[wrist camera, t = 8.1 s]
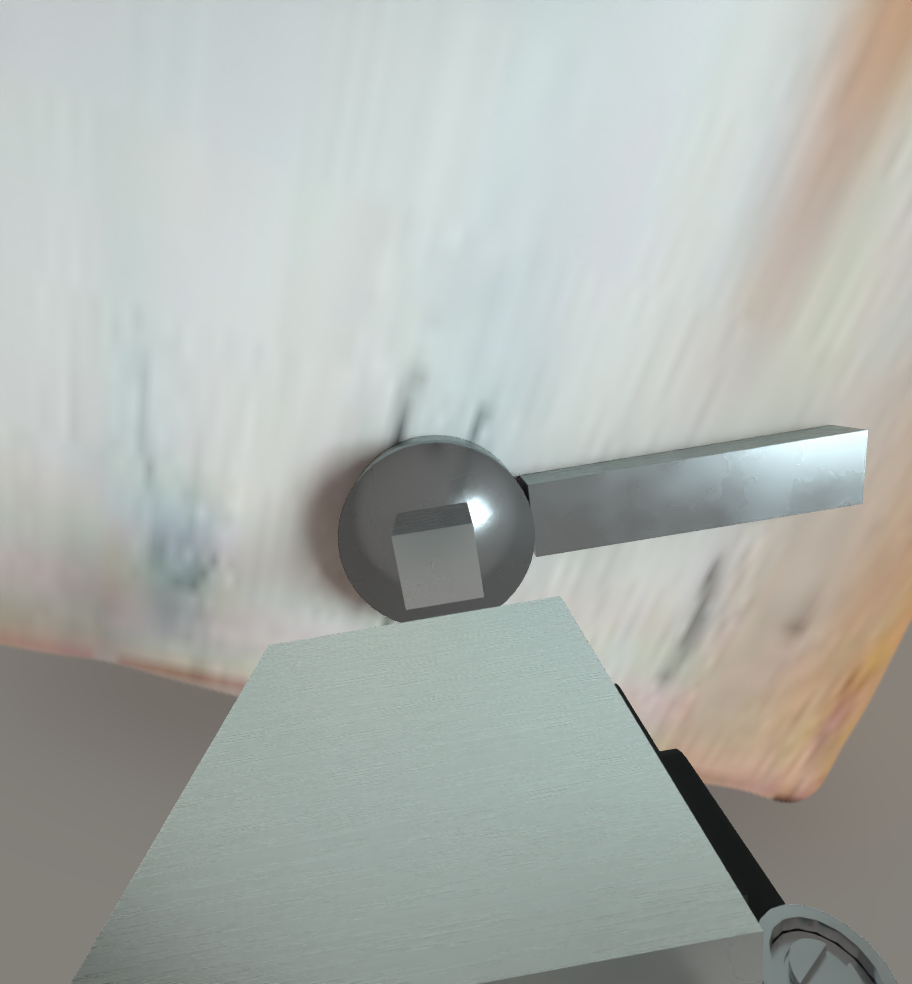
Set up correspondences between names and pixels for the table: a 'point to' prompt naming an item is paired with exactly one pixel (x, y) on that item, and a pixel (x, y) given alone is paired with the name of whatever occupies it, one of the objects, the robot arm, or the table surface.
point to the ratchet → (564, 509)
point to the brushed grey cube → (431, 826)
